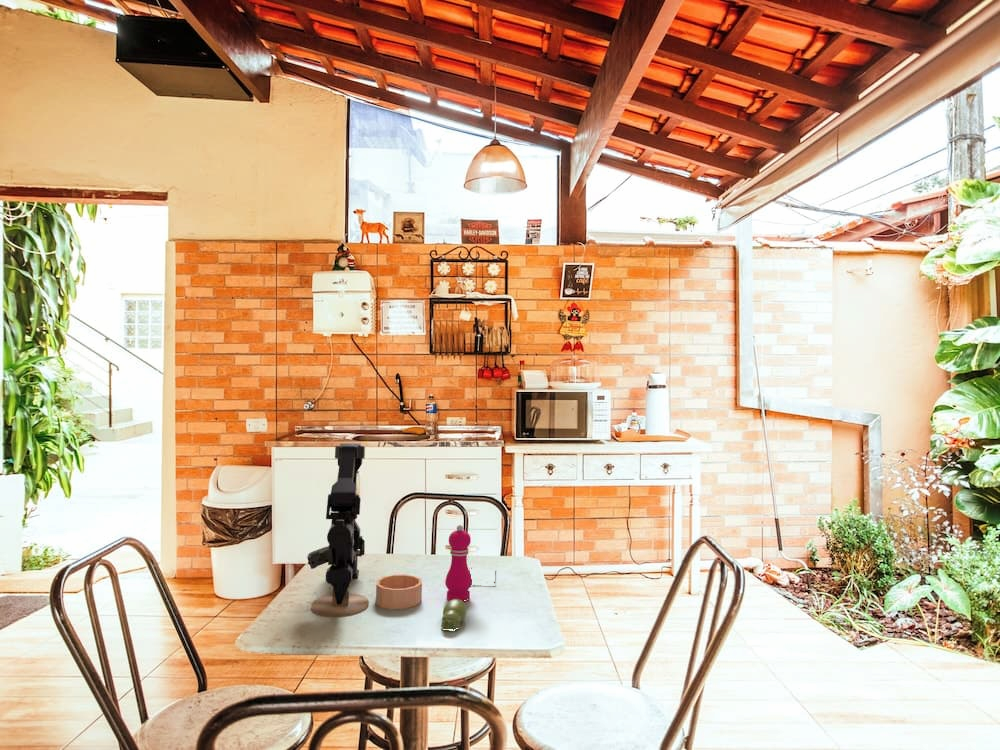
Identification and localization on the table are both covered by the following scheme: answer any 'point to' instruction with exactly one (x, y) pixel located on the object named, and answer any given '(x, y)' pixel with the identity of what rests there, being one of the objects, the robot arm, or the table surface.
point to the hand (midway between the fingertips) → (340, 597)
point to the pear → (453, 614)
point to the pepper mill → (459, 566)
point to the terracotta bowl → (398, 591)
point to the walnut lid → (340, 605)
